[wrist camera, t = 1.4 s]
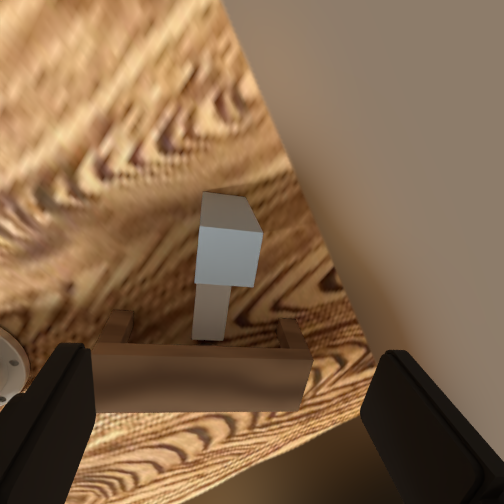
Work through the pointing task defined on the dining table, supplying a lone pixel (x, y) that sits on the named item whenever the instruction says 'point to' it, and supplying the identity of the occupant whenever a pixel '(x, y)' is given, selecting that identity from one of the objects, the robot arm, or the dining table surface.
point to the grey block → (223, 260)
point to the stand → (197, 373)
